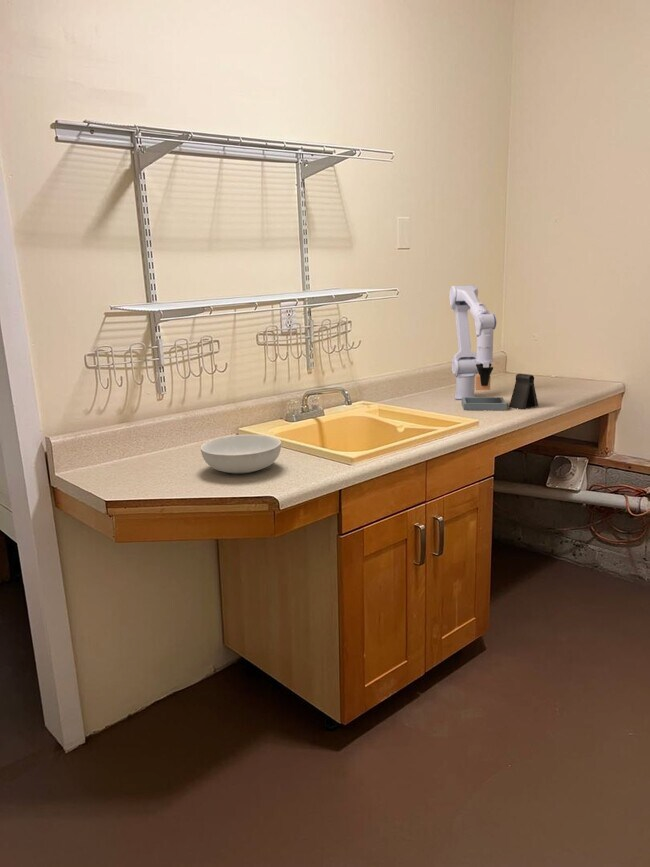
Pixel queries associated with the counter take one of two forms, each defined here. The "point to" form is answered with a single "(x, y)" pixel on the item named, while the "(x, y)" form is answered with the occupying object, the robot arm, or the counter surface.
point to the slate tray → (484, 403)
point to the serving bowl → (241, 453)
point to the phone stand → (524, 392)
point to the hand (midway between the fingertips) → (483, 384)
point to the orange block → (478, 383)
